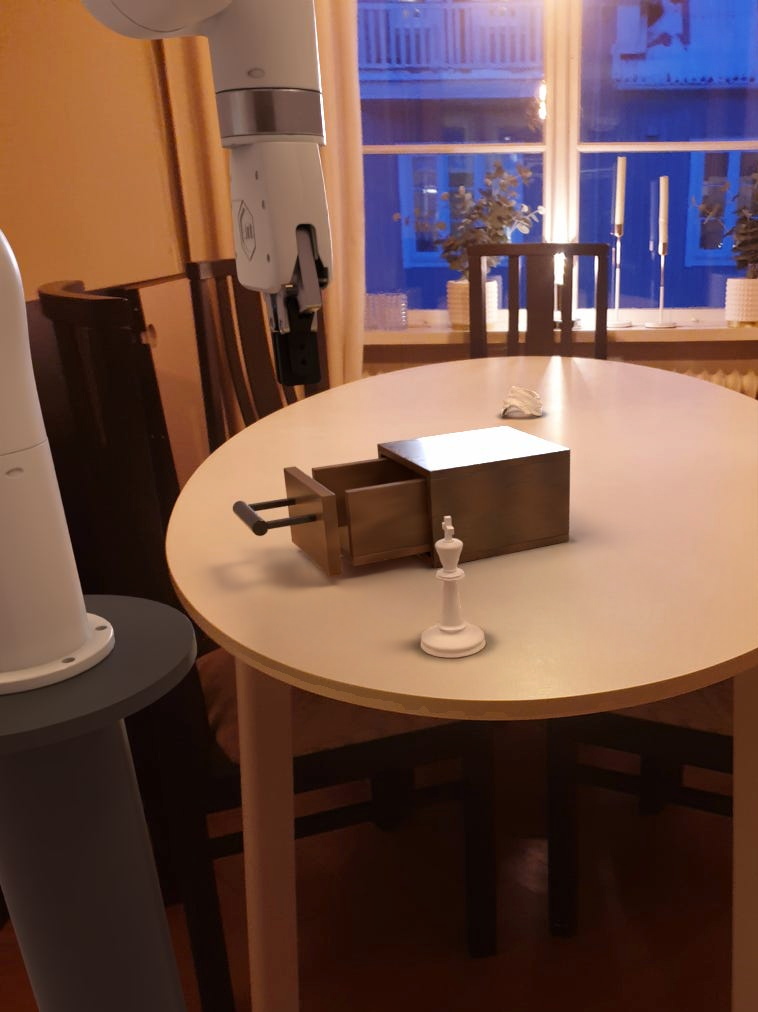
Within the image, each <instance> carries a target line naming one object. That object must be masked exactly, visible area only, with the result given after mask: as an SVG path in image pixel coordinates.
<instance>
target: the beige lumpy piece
mask: <svg viewBox="0 0 758 1012" xmlns="http://www.w3.org/2000/svg"><path fill="white" fill-rule="evenodd" d="M507 395H508V397H507V399H504V400H503V404H502V410H501V411H500V416H501V417H504V416H507V415H508V414H509V412H510V411H511V410H512V409H513V408H515V409H516V410H519V411H520V412H521V413H523V414H525V415H526V416H530V415H534V416H536V417H540V416H542V415H543V409H542V407H543V405H544V403H543V401H542V400H540V399H541V396H540V395H539V394H538V393H537V392H536V391H534V390H531V389H527V388H524V387H522V386H511V388H510V389H509V391H508V392H507Z"/></svg>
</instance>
